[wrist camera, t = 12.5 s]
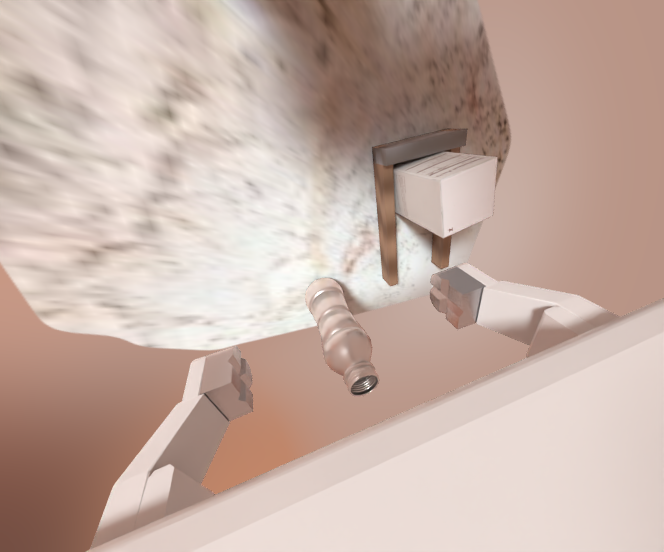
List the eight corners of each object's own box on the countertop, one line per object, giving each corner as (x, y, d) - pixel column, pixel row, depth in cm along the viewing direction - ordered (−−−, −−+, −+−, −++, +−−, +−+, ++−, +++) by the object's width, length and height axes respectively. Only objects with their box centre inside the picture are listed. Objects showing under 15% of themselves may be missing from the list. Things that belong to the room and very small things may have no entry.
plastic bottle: (345, 281, 45) (402, 370, 28) (324, 309, 46) (367, 408, 30) (316, 267, 41) (362, 358, 25) (295, 297, 43) (325, 401, 27)
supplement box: (431, 195, 41) (494, 217, 30) (391, 212, 40) (442, 240, 30) (428, 147, 37) (500, 155, 26) (384, 165, 36) (439, 180, 26)
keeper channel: (372, 147, 34) (385, 149, 31) (447, 128, 36) (467, 128, 33) (382, 277, 47) (392, 289, 43) (438, 259, 48) (452, 268, 45)
